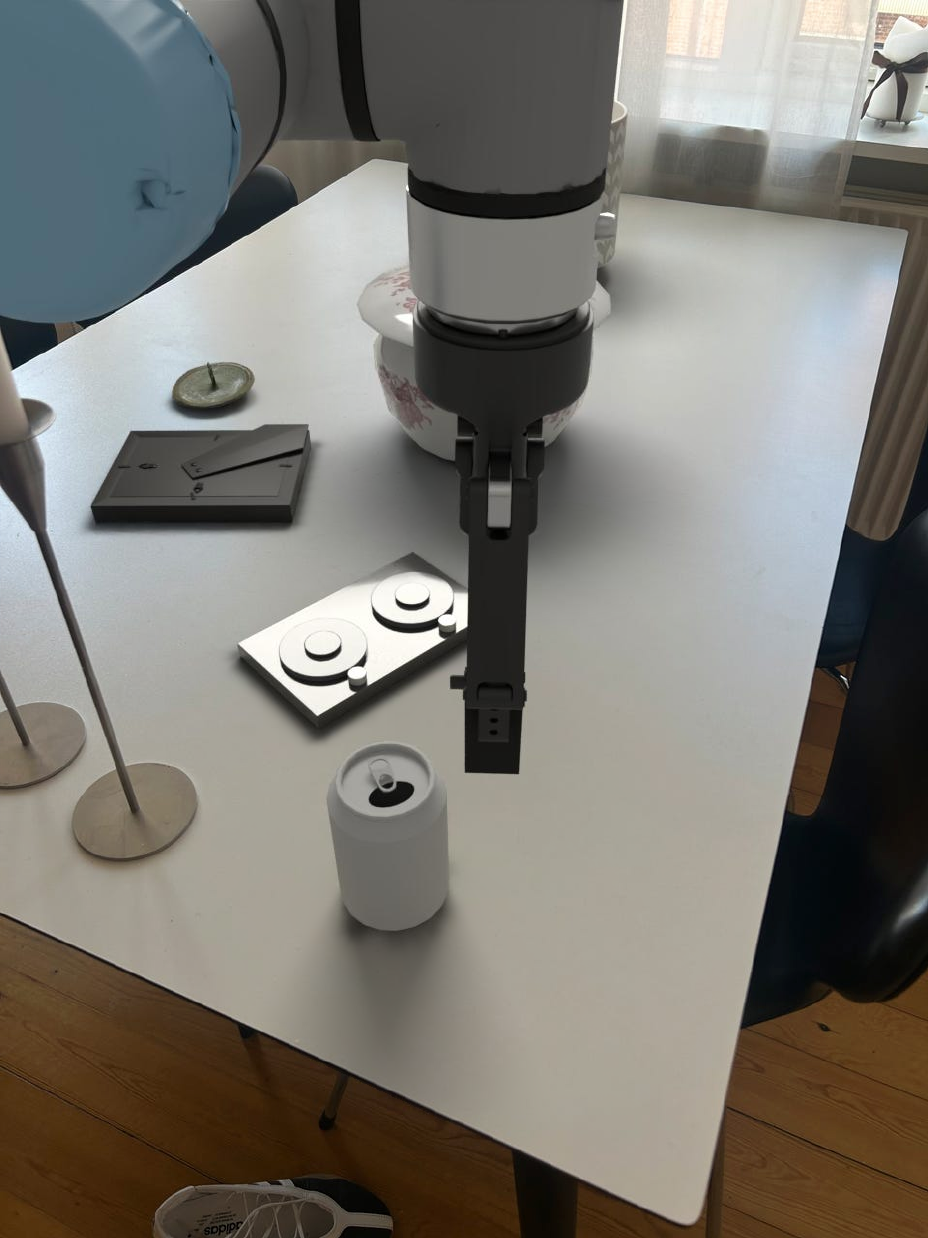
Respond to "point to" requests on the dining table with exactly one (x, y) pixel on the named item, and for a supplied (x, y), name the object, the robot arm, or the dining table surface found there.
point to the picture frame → (206, 476)
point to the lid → (212, 385)
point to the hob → (361, 638)
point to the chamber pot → (391, 317)
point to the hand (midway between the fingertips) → (493, 674)
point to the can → (390, 835)
